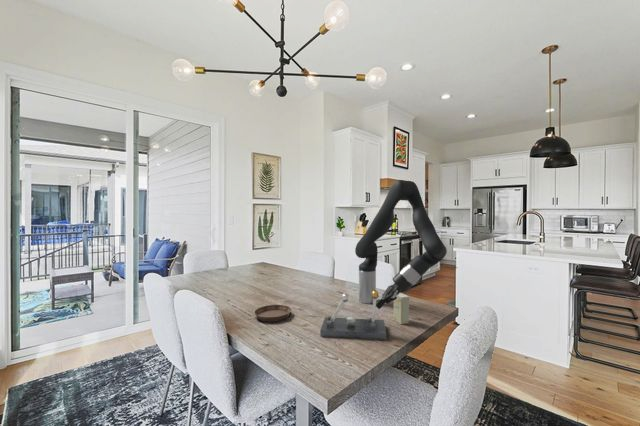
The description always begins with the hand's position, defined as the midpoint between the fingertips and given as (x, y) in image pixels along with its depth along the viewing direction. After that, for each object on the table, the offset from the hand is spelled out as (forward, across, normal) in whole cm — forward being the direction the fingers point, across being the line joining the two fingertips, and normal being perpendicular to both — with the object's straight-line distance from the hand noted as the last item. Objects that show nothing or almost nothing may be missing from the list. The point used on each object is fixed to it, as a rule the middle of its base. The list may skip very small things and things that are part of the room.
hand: (377, 307), depth 122 cm
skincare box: (0, -13, +16) cm, 20 cm away
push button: (+13, 0, -2) cm, 14 cm away
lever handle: (+7, 0, +4) cm, 8 cm away
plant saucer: (+42, -13, -28) cm, 52 cm away
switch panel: (+14, 0, 0) cm, 15 cm away
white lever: (+20, 0, -9) cm, 21 cm away
